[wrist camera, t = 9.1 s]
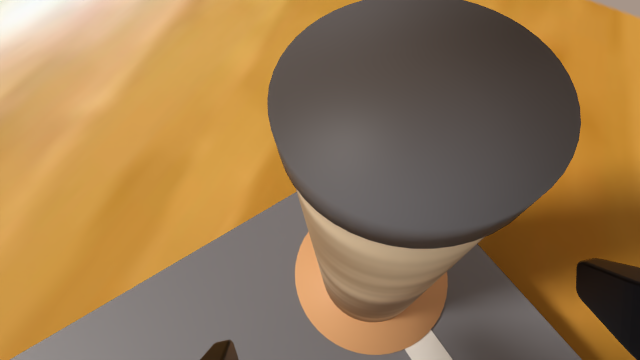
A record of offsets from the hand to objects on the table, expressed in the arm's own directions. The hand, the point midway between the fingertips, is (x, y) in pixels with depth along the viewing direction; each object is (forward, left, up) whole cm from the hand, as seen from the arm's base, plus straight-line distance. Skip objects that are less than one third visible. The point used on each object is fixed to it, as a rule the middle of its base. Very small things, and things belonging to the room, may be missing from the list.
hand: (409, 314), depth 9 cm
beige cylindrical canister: (+2, -1, -7) cm, 7 cm away
